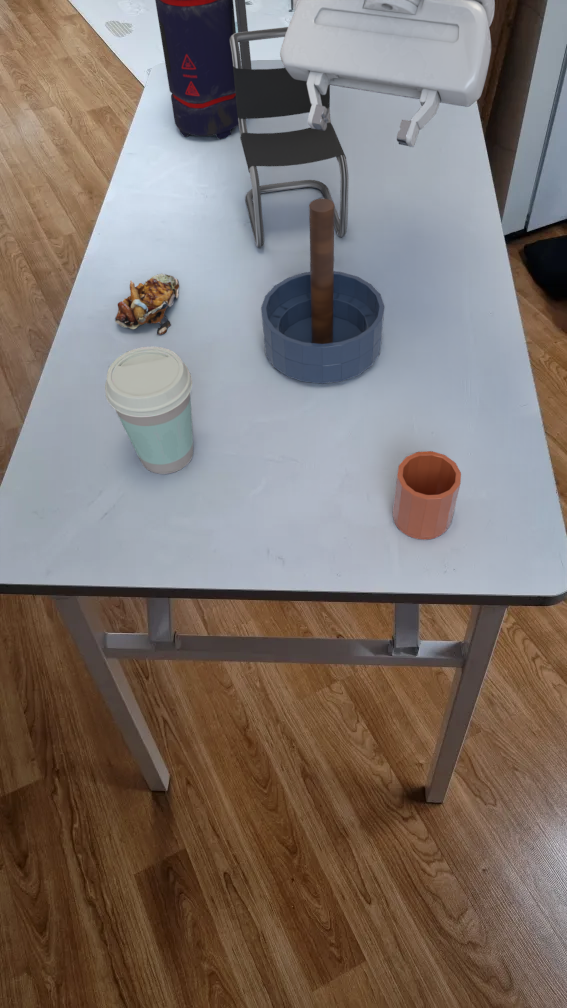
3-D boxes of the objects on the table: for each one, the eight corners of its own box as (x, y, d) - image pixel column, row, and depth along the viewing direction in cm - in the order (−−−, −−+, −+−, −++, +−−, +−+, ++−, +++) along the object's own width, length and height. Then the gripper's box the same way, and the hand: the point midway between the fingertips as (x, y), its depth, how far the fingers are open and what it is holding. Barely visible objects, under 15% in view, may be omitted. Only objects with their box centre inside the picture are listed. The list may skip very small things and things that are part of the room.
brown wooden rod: (334, 337, 89) (336, 199, 74) (331, 351, 87) (332, 212, 73) (313, 335, 89) (311, 197, 75) (310, 349, 87) (307, 211, 73)
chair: (324, 182, 112) (324, 21, 95) (348, 244, 102) (353, 76, 84) (242, 192, 112) (227, 32, 94) (257, 256, 101) (243, 88, 84)
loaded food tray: (185, 279, 98) (181, 255, 96) (166, 336, 91) (161, 312, 88) (136, 277, 99) (130, 254, 96) (113, 333, 92) (106, 310, 89)
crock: (452, 496, 73) (462, 454, 68) (449, 544, 70) (459, 503, 65) (395, 489, 74) (401, 447, 69) (389, 536, 71) (394, 495, 66)
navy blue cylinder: (166, 140, 123) (129, -79, 99) (187, 108, 130) (157, -104, 106) (244, 145, 121) (225, -78, 97) (261, 113, 128) (247, -103, 104)
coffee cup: (217, 434, 80) (203, 351, 71) (186, 492, 75) (166, 410, 66) (148, 419, 82) (125, 335, 73) (114, 474, 77) (84, 392, 68)
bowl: (386, 315, 92) (390, 275, 87) (373, 392, 83) (376, 352, 78) (277, 306, 94) (275, 266, 89) (253, 380, 85) (249, 340, 81)
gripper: (294, -47, 68) (253, 104, 71) (506, -26, 62) (454, 140, 64) (314, -8, 74) (277, 131, 77) (511, 15, 68) (462, 165, 70)
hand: (359, 135), depth 71 cm, fingers open, 8 cm apart
